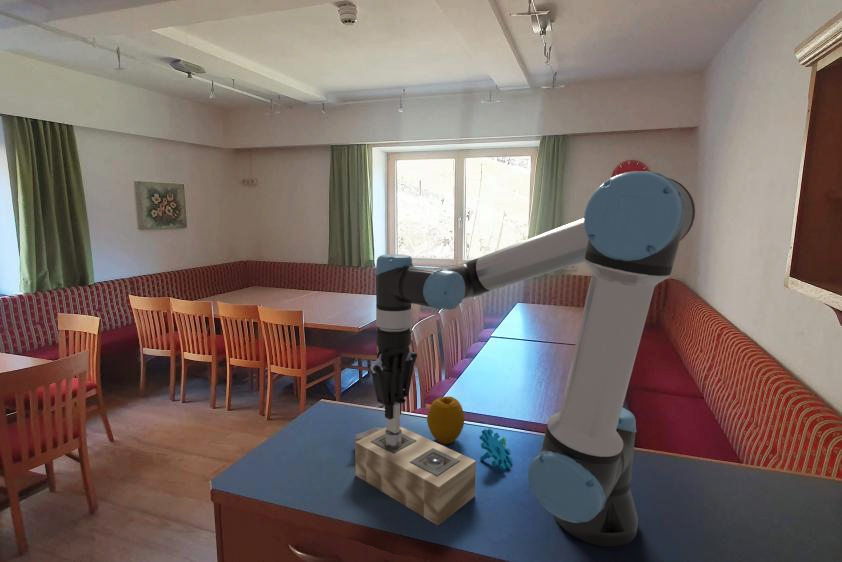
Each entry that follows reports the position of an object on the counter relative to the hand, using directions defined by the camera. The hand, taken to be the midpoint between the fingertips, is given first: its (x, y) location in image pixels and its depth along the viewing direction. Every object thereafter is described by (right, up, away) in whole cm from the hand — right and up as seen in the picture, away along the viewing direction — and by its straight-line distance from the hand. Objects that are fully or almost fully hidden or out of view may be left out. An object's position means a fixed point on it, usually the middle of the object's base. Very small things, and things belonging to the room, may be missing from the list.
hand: (393, 430), depth 99 cm
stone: (-5, -9, +12) cm, 16 cm away
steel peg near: (+9, -11, -6) cm, 16 cm away
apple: (+13, -8, +17) cm, 23 cm away
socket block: (+4, -11, -2) cm, 12 cm away
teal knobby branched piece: (+24, -10, +7) cm, 27 cm away
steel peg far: (0, -8, +1) cm, 8 cm away
